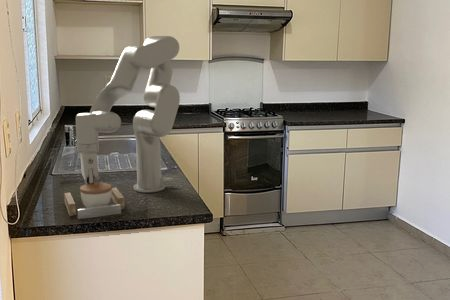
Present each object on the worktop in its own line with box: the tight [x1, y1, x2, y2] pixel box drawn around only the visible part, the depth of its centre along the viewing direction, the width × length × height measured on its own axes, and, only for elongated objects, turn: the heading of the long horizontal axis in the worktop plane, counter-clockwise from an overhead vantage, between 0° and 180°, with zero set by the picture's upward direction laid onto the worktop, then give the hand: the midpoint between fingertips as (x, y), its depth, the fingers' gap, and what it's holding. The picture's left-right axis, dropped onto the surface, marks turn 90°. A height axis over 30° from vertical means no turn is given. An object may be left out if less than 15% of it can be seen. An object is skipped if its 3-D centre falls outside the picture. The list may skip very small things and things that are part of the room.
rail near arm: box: [111, 187, 125, 210], centre depth 176 cm, size 2×14×4 cm, turn 24°
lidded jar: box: [79, 181, 113, 208], centre depth 170 cm, size 11×11×9 cm
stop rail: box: [76, 203, 122, 220], centre depth 163 cm, size 14×2×3 cm, turn 114°
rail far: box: [63, 192, 77, 217], centre depth 170 cm, size 2×14×4 cm, turn 24°
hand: (90, 196), depth 178 cm, fingers closed
